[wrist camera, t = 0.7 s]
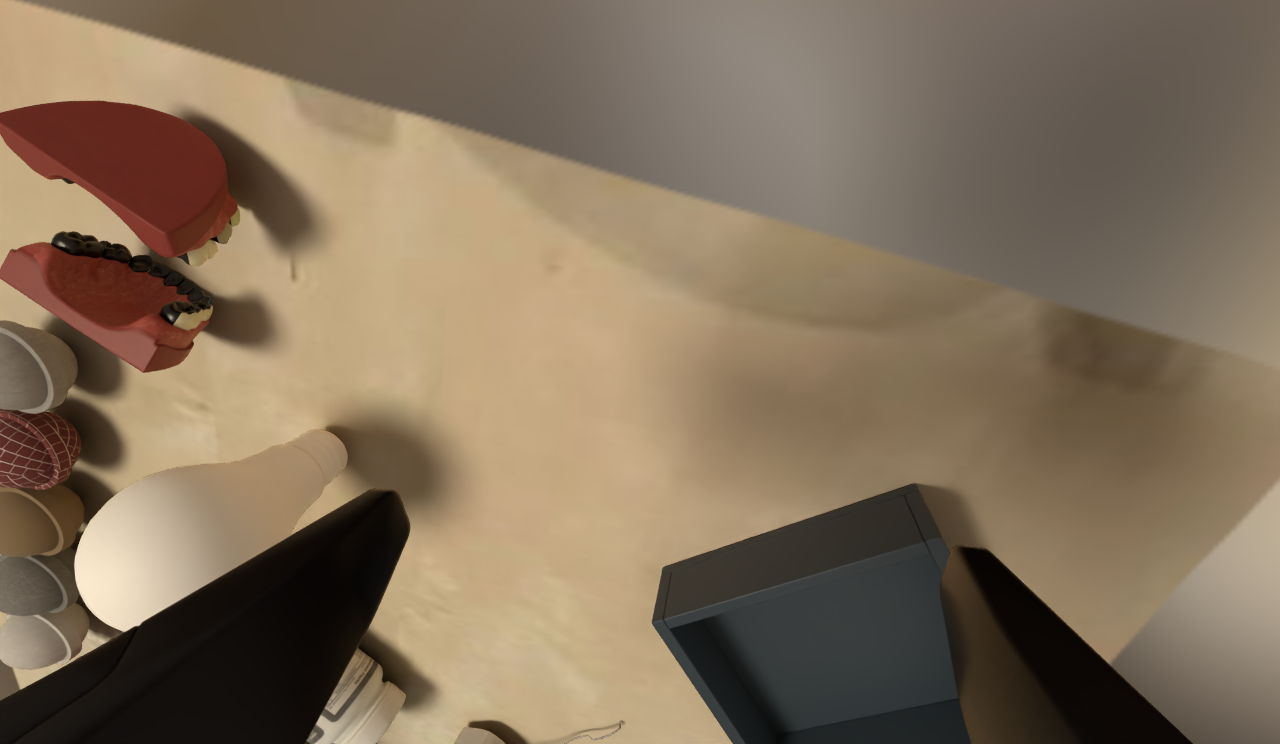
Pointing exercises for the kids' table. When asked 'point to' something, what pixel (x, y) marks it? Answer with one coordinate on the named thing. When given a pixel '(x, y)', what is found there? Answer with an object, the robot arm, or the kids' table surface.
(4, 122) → the dental model
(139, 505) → the lightbulb
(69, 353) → the beads
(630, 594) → the kids' table surface
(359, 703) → the pill bottle
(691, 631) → the bin
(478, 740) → the game controller
